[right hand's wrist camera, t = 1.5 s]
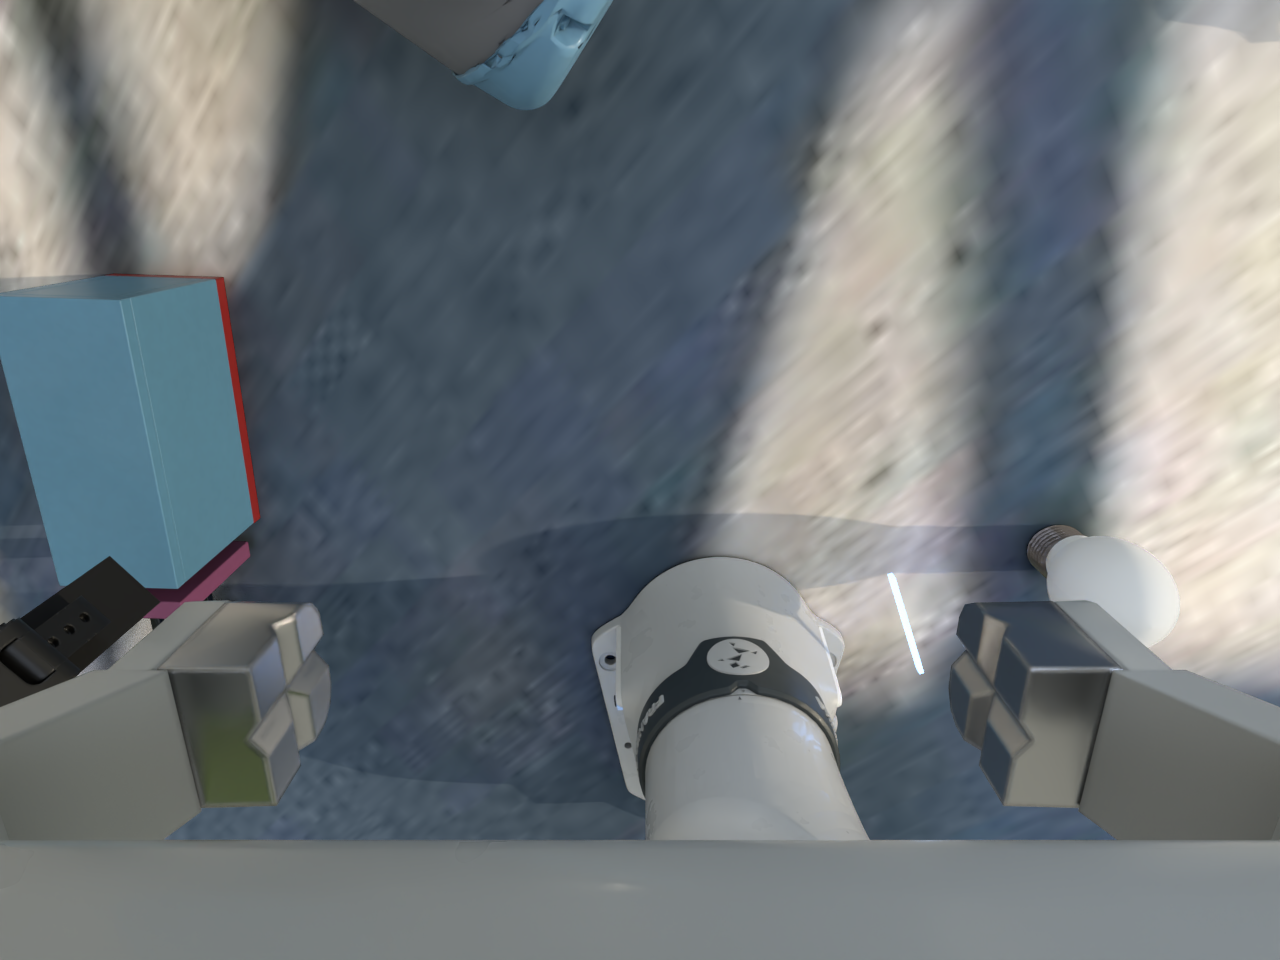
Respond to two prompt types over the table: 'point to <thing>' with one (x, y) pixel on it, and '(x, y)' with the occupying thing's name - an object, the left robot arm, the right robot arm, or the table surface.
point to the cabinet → (130, 421)
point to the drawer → (199, 582)
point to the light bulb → (1108, 579)
